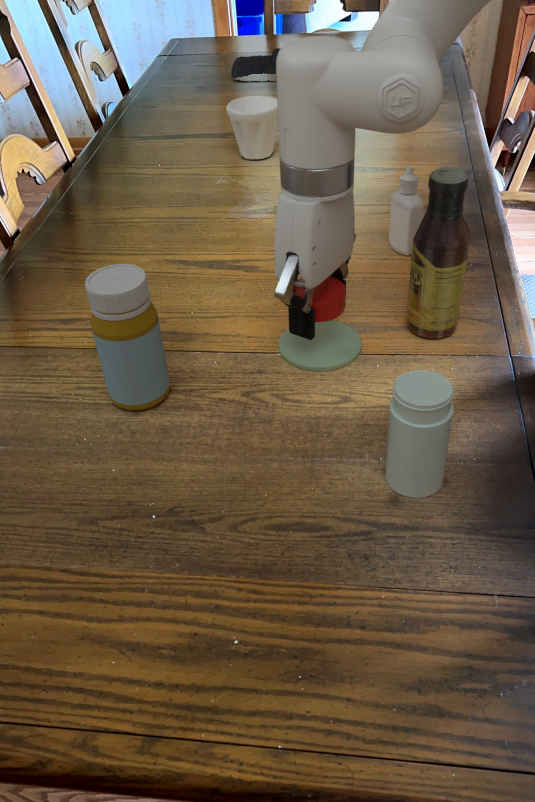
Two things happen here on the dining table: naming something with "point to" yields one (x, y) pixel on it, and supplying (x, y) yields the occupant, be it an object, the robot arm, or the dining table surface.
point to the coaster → (322, 347)
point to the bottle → (127, 337)
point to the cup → (254, 124)
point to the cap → (327, 299)
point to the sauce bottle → (439, 257)
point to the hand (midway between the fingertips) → (317, 319)
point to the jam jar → (418, 433)
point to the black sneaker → (255, 65)
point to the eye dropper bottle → (405, 214)
